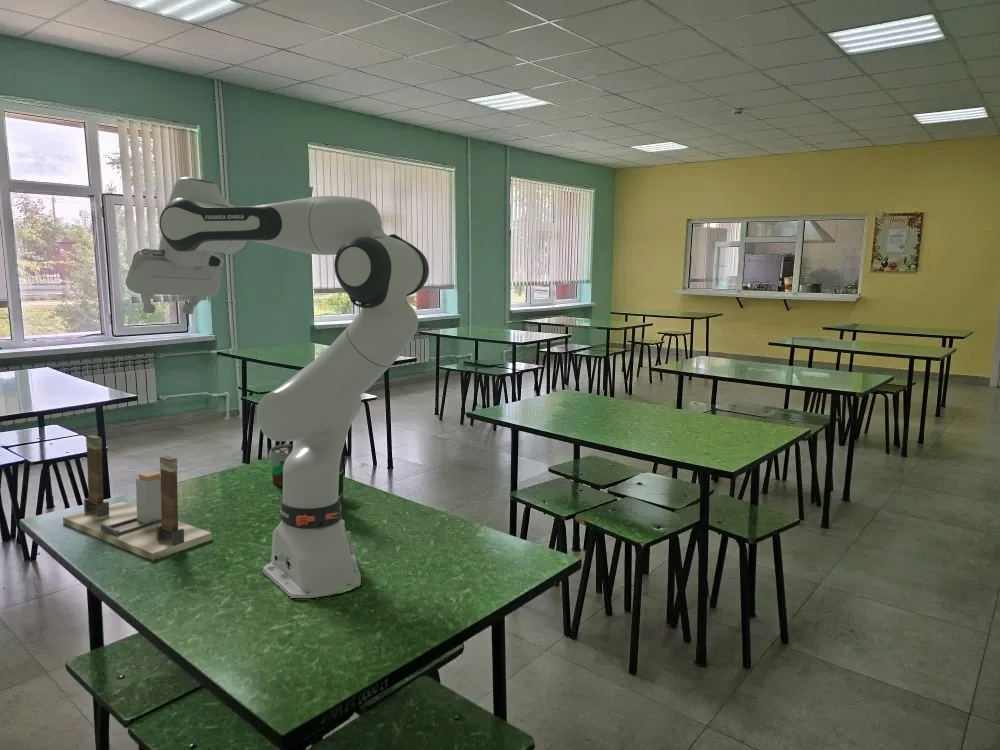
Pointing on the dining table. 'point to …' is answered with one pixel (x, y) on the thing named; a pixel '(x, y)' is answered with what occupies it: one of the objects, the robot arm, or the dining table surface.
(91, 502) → the wooden stick
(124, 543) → the panel
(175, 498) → the brown lever
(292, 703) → the dining table surface
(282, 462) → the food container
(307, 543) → the robot arm
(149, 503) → the slider
